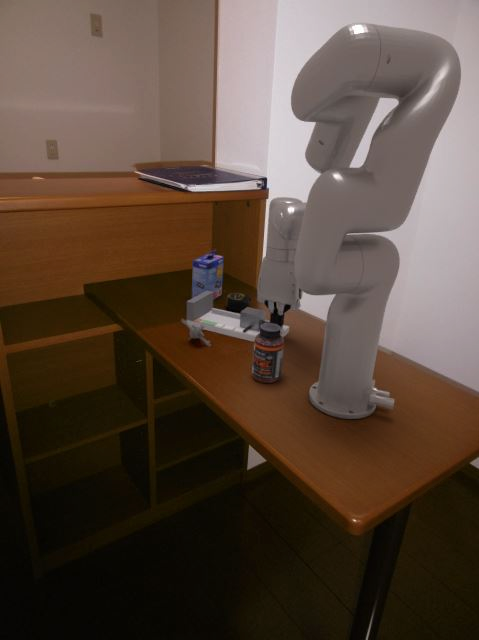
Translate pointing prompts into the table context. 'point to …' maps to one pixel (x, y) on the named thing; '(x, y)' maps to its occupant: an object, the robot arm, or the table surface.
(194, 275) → the ink cartridge box
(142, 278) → the table surface
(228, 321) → the board
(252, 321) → the block
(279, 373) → the supplement bottle
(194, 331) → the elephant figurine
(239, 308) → the tape measure
